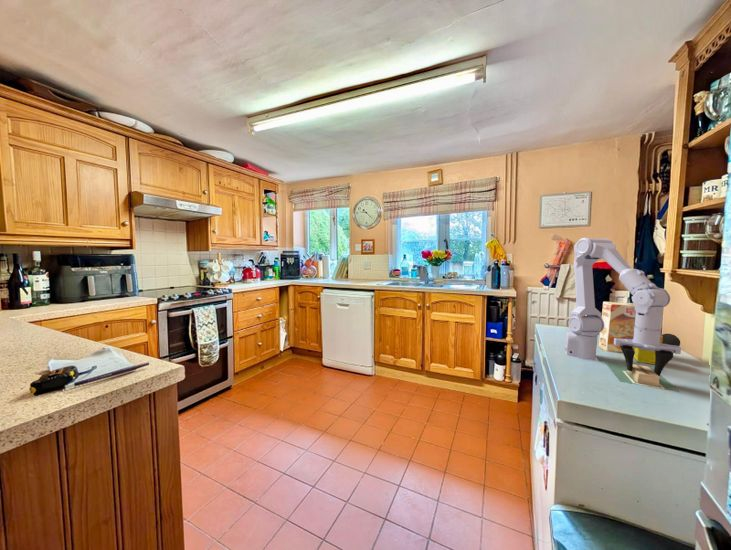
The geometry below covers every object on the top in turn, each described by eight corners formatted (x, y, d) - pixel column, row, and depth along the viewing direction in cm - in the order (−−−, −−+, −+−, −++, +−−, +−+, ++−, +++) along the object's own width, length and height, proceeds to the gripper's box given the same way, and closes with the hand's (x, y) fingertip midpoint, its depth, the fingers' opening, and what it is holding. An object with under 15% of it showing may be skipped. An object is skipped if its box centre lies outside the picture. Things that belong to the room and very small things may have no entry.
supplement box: (655, 362, 104) (658, 332, 103) (660, 367, 99) (663, 336, 98) (633, 358, 107) (636, 330, 107) (636, 363, 103) (639, 333, 102)
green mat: (619, 383, 86) (619, 380, 86) (604, 363, 102) (604, 361, 102) (680, 394, 80) (680, 391, 80) (654, 371, 96) (654, 369, 96)
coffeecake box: (606, 352, 114) (611, 303, 112) (597, 347, 120) (602, 301, 119) (653, 357, 109) (659, 306, 108) (642, 351, 116) (647, 303, 115)
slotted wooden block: (627, 372, 93) (628, 363, 92) (646, 375, 91) (647, 366, 90) (637, 383, 85) (638, 373, 85) (658, 387, 83) (659, 376, 82)
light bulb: (680, 364, 103) (683, 337, 102) (658, 361, 106) (661, 334, 105) (674, 359, 108) (677, 333, 107) (654, 356, 110) (656, 330, 110)
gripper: (620, 327, 86) (615, 371, 87) (688, 335, 80) (682, 382, 81) (613, 322, 93) (609, 364, 94) (676, 329, 86) (671, 373, 87)
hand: (643, 372), depth 88 cm, fingers open, 6 cm apart
